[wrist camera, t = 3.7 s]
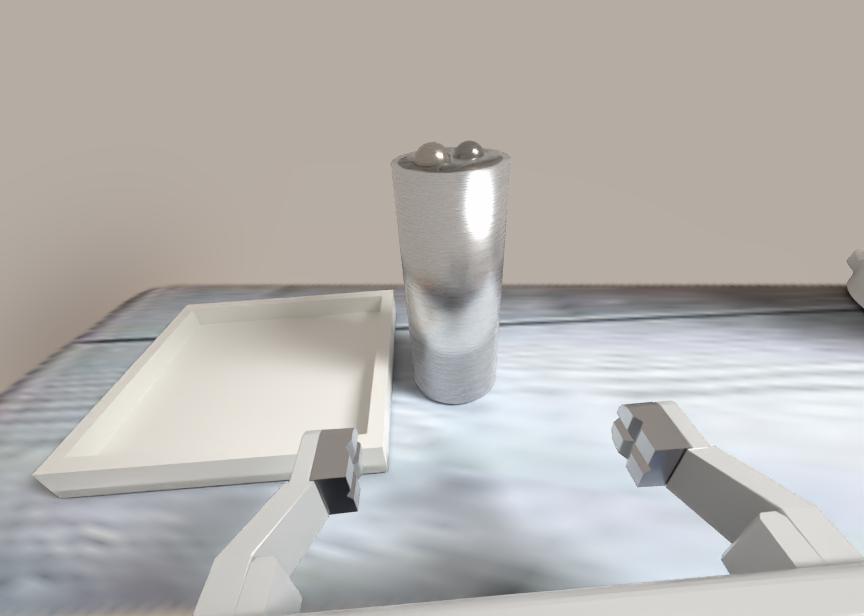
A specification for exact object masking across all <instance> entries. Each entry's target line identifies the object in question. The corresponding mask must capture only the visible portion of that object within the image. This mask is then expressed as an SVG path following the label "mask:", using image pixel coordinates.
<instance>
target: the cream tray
mask: <svg viewBox="0 0 864 616" xmlns="http://www.w3.org/2000/svg"><path fill="white" fill-rule="evenodd" d="M395 319H396V308H395V300H394V293H393V290H381V291H367V292H354V293H340V294H327V295H313V296H299V297H286V298H272V299H259V300H245V301H232V302H218V303H204V304H191V305H186V307H185V308H184V309H183V310H182V311H181V312H180V313H179V314H178V315H177V316H176V318H175V319H174V320H173V321H172V322H171V323H170V324H169V325H168V326H167V327H166V329H165V330H164V331H163V332H162V333H161V334H160V335H159V336H158V337H157V338H156V339H155V341H154V342H153V343H152V344H151V345H150V346H149V347H148V348H147V349H146V350H145V352H144V353H143V354H142V355H141V356H140V357H139V358H138V359H137V360H136V361H135V363H134V364H133V365H132V366H131V367H130V368H129V369H128V370H127V371H126V372H125V374H124V375H123V376H122V377H121V378H120V379H119V380H118V381H117V382H116V383H115V384H114V386H113V387H112V388H111V389H110V390H109V391H108V392H107V393H106V394H105V395H104V397H103V398H102V399H101V400H100V401H99V402H98V403H97V404H96V405H95V406H94V408H93V409H92V410H91V411H90V412H89V413H88V414H87V415H86V416H85V417H84V419H83V420H82V421H81V422H80V423H79V424H78V425H77V426H76V427H75V428H74V430H73V431H72V432H71V433H70V434H69V435H68V436H67V437H66V438H65V439H64V440H63V442H62V443H61V444H60V445H59V446H58V447H57V448H56V449H55V450H54V451H53V453H52V454H51V455H50V456H49V457H48V458H47V459H46V460H45V461H44V462H43V464H42V465H41V466H40V467H39V468H38V469H37V470H36V471H35V472H34V473H33V475H32V476H33V477H35V478H36V479H37V480H38V481H40V482H41V483H42V484H43V485H44V486H46V487H47V488H48V489H49V490H50V491H52V492H53V493H54V494H55V495H56V496H58V497H59V498H69V497H82V496H94V495H106V494H119V493H131V492H143V491H156V490H168V489H180V488H193V487H205V486H217V485H230V484H242V483H254V482H267V481H279V480H290V478H291V474H292V471H293V467H294V464H295V460H296V457H297V453H298V450H299V446H300V443H301V439H302V436H303V434H304V433H305V431H311V430H325V429H342V428H356V429H357V432H358V440H357V441H358V442H359V443H361V447H362V453H363V469H362V474H365V473H378V472H388V459H389V439H390V419H391V399H392V379H393V359H394V339H395Z"/></svg>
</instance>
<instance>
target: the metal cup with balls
mask: <svg viewBox="0 0 864 616" xmlns="http://www.w3.org/2000/svg"><path fill="white" fill-rule="evenodd" d="M391 168H392V178H393V187H394V196H395V205H396V214H397V223H398V232H399V241H400V250H401V259H402V268H403V277H404V286H405V295H406V304H407V313H408V322H409V331H410V340H411V350H412V359H413V368H414V377H415V382H416V384H417V386H418V388H419V389H420V390H421V391H422V392H423V393H424V394H425V395H426V396H428V397H429V398H431V399H433V400H436V401H439V402H442V403H447V404H462V403H468V402H472V401H474V400H477V399H479V398H481V397H482V396H484V395H485V394H486V393H487V392H488V391H489V390H490V389H491V388H492V386H493V384H494V381H495V377H496V362H497V347H498V333H499V318H500V303H501V288H502V273H503V258H504V244H505V229H506V215H507V199H508V185H509V170H510V156H509V155H508V154H506V153H504V152H501V151H498V150H493V149H487V148H482V147H481V146H480V145H479V144H478V143H476V142H474V141H465V142H463V143H461V144H460V145H458V146H457V147H444V146H443V145H441V144H439V143H436V142H429V143H425V144H423V145H422V146H421V147H420V148H419V149H418V150H417V151H415V152H411V153H407V154H404V155H401V156H399V157H397V158H395V159H394V160H392V162H391Z"/></svg>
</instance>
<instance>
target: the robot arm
mask: <svg viewBox="0 0 864 616" xmlns="http://www.w3.org/2000/svg"><path fill="white" fill-rule="evenodd" d="M847 263H848V265H849V266H850V268H851V269H852V270H853V271H854V272H853V275H852V276H851V278H850V279H849V280H848V282H847V288H848V291H849V293H850V295H851V296H852V297H853V299H854V300H855V301H856V302H857V303H858V304H859V305H861V306H862V307H863V308H864V249H858V250H855V251H854V252H853V253H852V255H851V256H850V257H849V258H848V260H847ZM617 414H618V416H619V418H618V419H617V420H616V421H614V422H613V426H612V429H611V430H612V439H613V442H614V445H615V447H616V449H617V451H618V453H620V454H621V455H622V456H624V457H625V458H626V459H627V463H626V468H627V469H628V471H629V473H630V475H631V477H632V478H633V480H634V482H635V484H636V486H637V487H648V486H666V485H667V486H666V488H667V489H669V490H670V491H671V492H672V493H673V494H675V495H676V496H677V497H678V498H679V499H680V500H682V501H683V502H684V503H685V504H686V505H687V506H689V507H690V508H691V509H692V510H693V511H694V512H696V513H697V514H698V515H699V516H700V517H701V518H703V519H704V520H705V521H706V522H707V523H708V524H710V525H711V526H712V527H713V528H714V529H716V530H717V531H718V532H719V533H720V534H721V535H723V536H724V537H725V538H726V539H727V540H728V541H730V542H731V543H732V544H731V546H730V547H729V548H728V549H727V550H726V551H725V552H724V553H723V555H722V558H721V560H722V562H723V564H724V565H725V567H726V568H727V570H728V572H729V573H730V575H719V576H708V577H697V578H685V579H674V580H663V581H652V582H641V583H630V584H619V585H608V586H597V587H586V588H574V589H563V590H552V591H541V592H530V593H519V594H508V595H497V596H486V597H475V598H463V599H452V600H441V601H430V602H419V603H408V604H397V605H386V606H375V607H364V608H353V609H342V610H331V611H320V612H309V613H300V608H301V603H302V598H303V597H302V596H301V594H300V592H299V591H298V589H297V588H296V587H295V585H294V584H293V582H292V581H291V580H290V578H289V577H290V576H291V574H292V573H293V571H294V570H295V568H296V567H297V565H298V564H299V562H300V561H301V559H302V557H303V556H304V554H305V553H306V551H307V550H308V548H309V547H310V545H311V544H312V542H313V541H314V539H315V538H316V536H317V534H318V533H319V531H320V530H321V528H322V527H323V525H324V524H325V522H326V521H327V519H328V518H329V515H330V514H339V513H348V512H356V511H358V505H359V496H360V486H359V483H358V479H359V478H360V476H361V475H362V469H363V453H362V447H361V443H359V442H358V441H357V440H358V432H357V429H356V428H342V429H325V430H311V431H305V433H304V434H303V436H302V439H301V443H300V446H299V450H298V453H297V457H296V460H295V464H294V467H293V471H292V474H291V478H290V481H289V483H284V484H283V485H282V486H281V487H280V488H279V489H278V490H277V492H276V493H275V494H274V495H273V496H272V497H271V498H270V499H269V500H268V501H267V502H266V504H265V505H264V506H263V507H262V508H261V509H260V510H259V511H258V512H257V513H256V514H255V516H254V517H253V518H252V519H251V520H250V521H249V522H248V523H247V524H246V525H245V526H244V528H243V529H242V530H241V531H240V532H239V533H238V534H237V535H236V536H235V537H234V538H233V540H232V541H231V542H230V543H229V544H228V545H227V546H226V547H225V548H224V549H223V550H222V551H221V553H220V554H219V555H218V556H217V557H216V558H215V560H214V562H213V565H212V567H211V570H210V572H209V575H208V578H207V580H206V583H205V585H204V588H203V590H202V593H201V595H200V598H199V601H198V603H197V606H196V608H195V611H194V613H193V616H864V558H863V557H862V556H861V555H860V553H859V552H858V551H857V550H856V549H855V548H854V547H853V546H852V545H851V544H850V543H849V541H848V540H847V539H846V538H845V537H844V536H843V535H842V534H841V533H840V532H839V531H838V529H837V528H836V527H835V526H834V525H833V524H832V523H831V522H830V521H829V520H828V519H827V517H826V516H825V515H824V514H823V513H822V512H821V511H820V510H819V509H818V508H817V507H816V506H815V505H813V504H811V503H810V502H808V501H806V500H805V499H803V498H801V497H800V496H798V495H796V494H795V493H793V492H791V491H790V490H788V489H786V488H785V487H783V486H781V485H780V484H778V483H776V482H774V481H773V480H771V479H769V478H768V477H766V476H764V475H763V474H761V473H759V472H758V471H756V470H754V469H753V468H751V467H749V466H748V465H746V464H744V463H743V462H741V461H739V460H738V459H736V458H734V457H733V456H731V455H729V454H728V453H726V452H724V451H722V450H721V449H719V448H717V447H710V445H709V444H708V443H707V441H706V440H705V439H704V438H703V436H702V435H701V434H700V433H699V431H698V430H697V429H696V428H695V426H694V425H693V424H692V423H691V421H690V420H689V419H688V418H687V416H686V415H685V414H684V413H683V411H682V410H681V409H680V408H679V406H678V405H677V404H676V403H675V402H673V401H661V402H646V403H636V404H626V405H621V406H620V407H619V408H618V411H617Z"/></svg>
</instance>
